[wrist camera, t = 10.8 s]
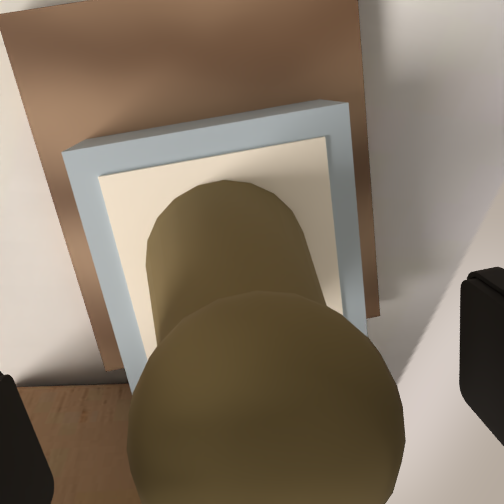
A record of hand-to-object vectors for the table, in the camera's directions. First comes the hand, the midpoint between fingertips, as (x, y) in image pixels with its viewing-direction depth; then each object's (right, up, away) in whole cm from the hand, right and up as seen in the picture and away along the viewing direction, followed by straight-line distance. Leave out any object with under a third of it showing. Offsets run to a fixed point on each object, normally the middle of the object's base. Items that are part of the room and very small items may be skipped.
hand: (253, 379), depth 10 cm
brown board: (-2, +6, +13) cm, 14 cm away
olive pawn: (-1, +2, +8) cm, 9 cm away
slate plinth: (-1, +4, +12) cm, 13 cm away
